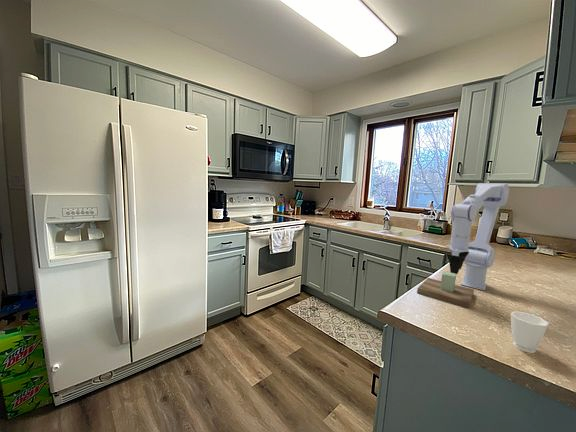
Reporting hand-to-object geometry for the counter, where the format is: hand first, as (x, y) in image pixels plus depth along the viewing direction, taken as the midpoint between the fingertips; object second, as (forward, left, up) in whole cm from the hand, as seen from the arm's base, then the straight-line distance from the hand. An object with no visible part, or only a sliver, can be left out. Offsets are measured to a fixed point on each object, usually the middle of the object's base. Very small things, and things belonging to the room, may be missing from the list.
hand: (455, 270), depth 93 cm
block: (+2, -2, -7) cm, 8 cm away
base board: (+2, -2, -9) cm, 10 cm away
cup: (+24, +19, -10) cm, 32 cm away
